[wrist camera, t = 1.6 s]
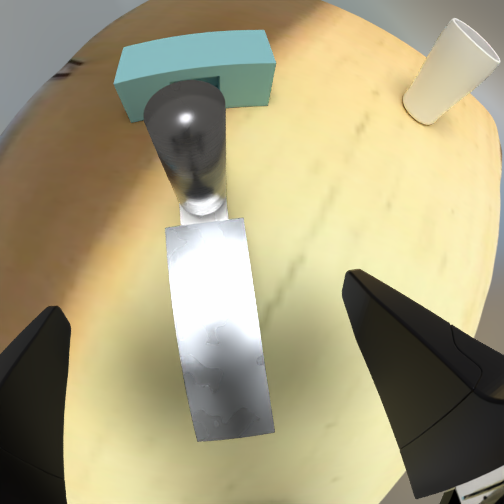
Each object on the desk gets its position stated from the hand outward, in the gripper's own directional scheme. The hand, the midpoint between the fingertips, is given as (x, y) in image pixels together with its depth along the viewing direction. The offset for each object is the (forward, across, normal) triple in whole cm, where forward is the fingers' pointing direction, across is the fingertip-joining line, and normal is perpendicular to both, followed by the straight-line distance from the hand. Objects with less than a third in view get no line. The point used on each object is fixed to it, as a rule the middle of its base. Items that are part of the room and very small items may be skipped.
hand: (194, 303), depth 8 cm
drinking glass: (+24, -27, -4) cm, 37 cm away
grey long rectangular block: (+9, 0, +10) cm, 14 cm away
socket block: (+25, 0, -5) cm, 26 cm away
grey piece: (+12, 0, +6) cm, 13 cm away
